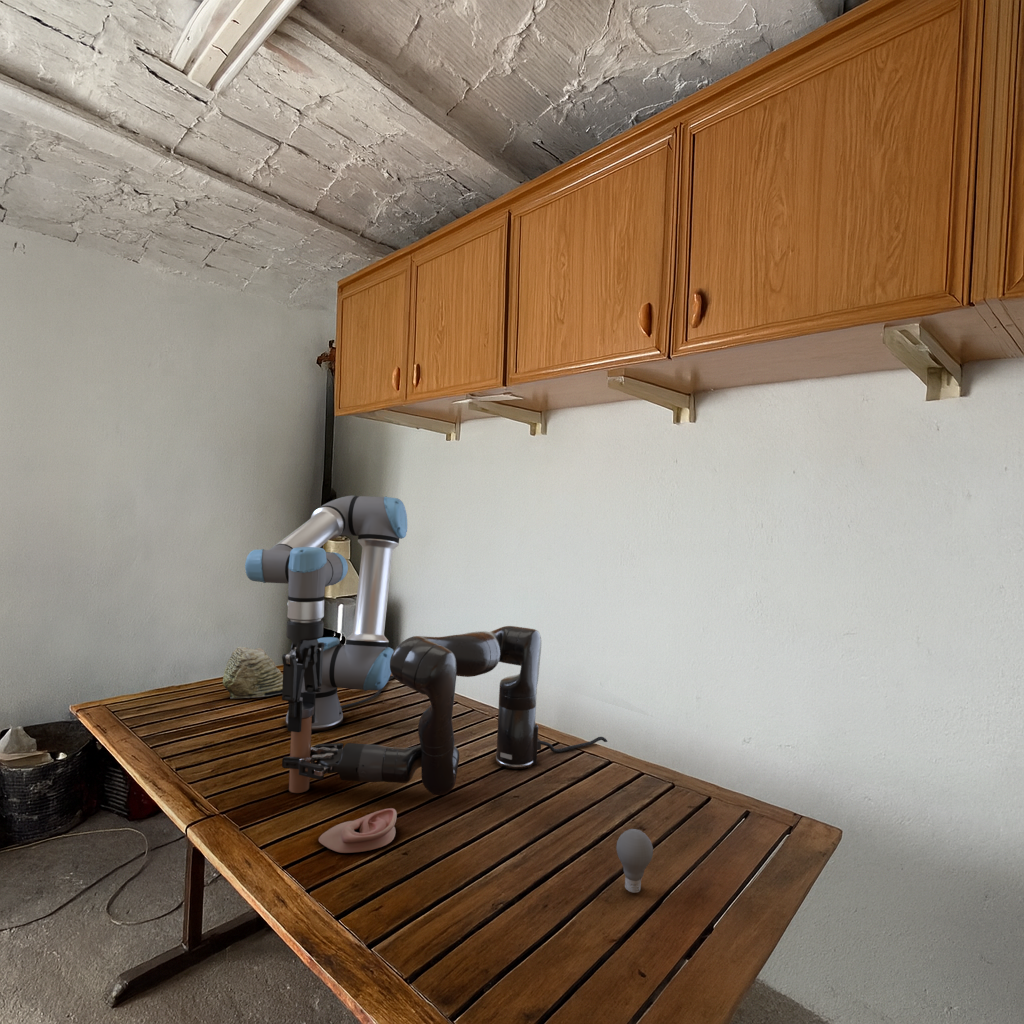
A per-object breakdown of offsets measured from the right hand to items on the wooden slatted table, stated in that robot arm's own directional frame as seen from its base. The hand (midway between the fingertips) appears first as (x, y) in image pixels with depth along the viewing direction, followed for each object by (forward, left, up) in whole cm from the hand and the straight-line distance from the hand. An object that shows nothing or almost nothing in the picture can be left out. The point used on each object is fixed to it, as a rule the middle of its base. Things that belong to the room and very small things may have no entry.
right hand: (287, 757), depth 137 cm
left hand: (-2, +1, +7) cm, 8 cm away
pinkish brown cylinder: (-2, +1, -7) cm, 7 cm away
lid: (-2, +1, +11) cm, 11 cm away
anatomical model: (-12, +25, -7) cm, 28 cm away
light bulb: (-52, +55, -7) cm, 76 cm away
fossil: (+7, -68, -7) cm, 69 cm away
